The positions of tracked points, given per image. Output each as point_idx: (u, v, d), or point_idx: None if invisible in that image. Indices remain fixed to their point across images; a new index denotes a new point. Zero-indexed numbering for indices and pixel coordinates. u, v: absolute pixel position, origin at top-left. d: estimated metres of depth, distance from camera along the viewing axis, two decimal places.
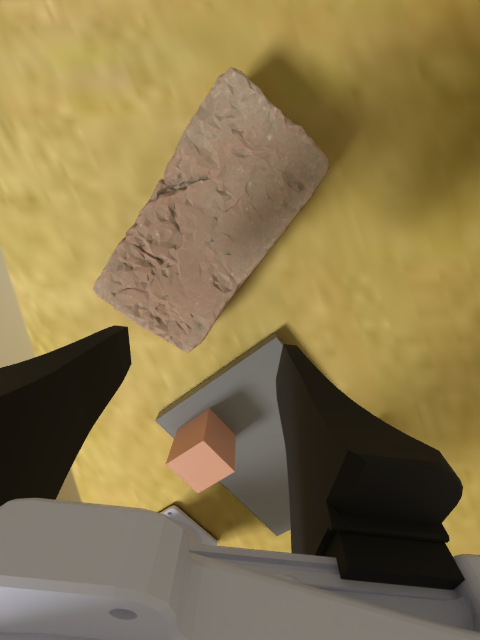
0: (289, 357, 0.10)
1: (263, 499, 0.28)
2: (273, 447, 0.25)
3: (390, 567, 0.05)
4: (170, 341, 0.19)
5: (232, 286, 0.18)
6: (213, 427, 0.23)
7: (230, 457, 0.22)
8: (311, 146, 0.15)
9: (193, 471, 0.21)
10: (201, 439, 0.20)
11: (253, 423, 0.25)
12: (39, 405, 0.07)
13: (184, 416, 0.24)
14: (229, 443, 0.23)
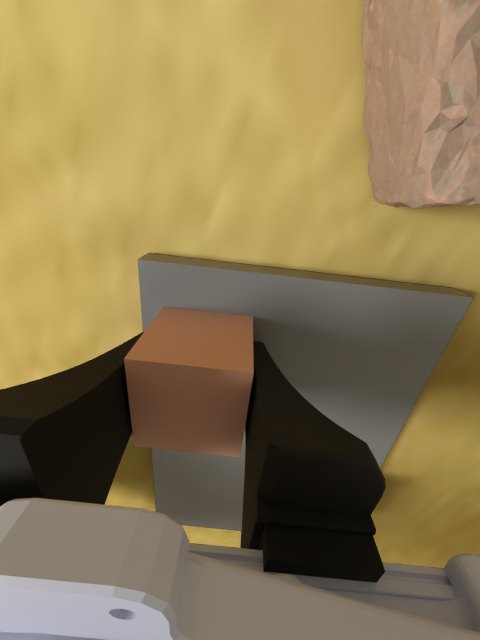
0: None
1: (185, 480, 0.17)
2: None
3: (311, 559, 0.05)
4: (432, 137, 0.06)
5: None
6: None
7: None
8: None
9: (167, 408, 0.09)
10: (246, 367, 0.08)
11: None
12: (96, 412, 0.07)
13: (198, 296, 0.11)
14: None
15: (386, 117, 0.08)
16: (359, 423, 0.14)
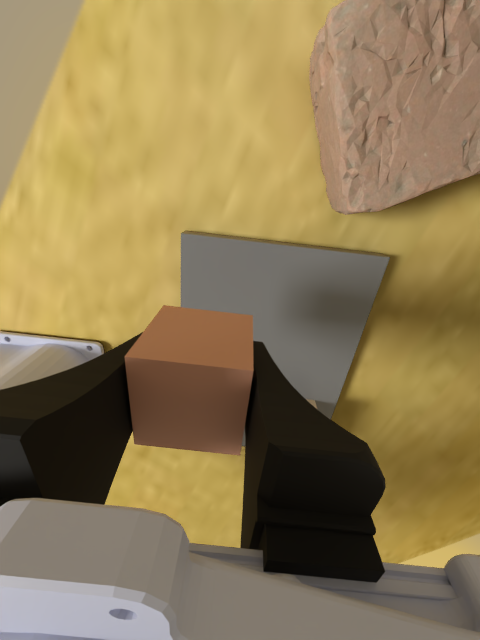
0: None
1: None
2: None
3: (311, 559, 0.05)
4: (346, 181, 0.13)
5: (476, 166, 0.13)
6: None
7: None
8: None
9: (167, 406, 0.09)
10: (246, 366, 0.08)
11: (274, 323, 0.20)
12: (96, 412, 0.07)
13: (217, 257, 0.18)
14: None
15: (328, 167, 0.14)
16: (325, 350, 0.21)
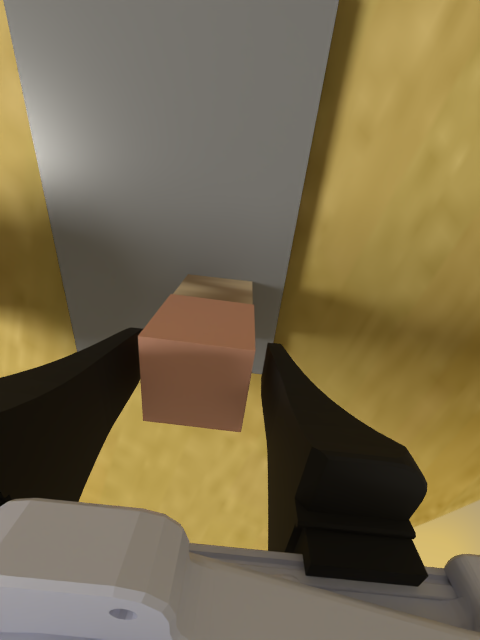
0: (271, 355, 0.10)
1: (96, 286, 0.17)
2: (171, 209, 0.14)
3: (354, 563, 0.05)
4: None
5: None
6: None
7: None
8: None
9: (175, 384, 0.10)
10: (249, 346, 0.09)
11: (174, 133, 0.13)
12: (65, 408, 0.07)
13: None
14: None
15: None
16: (257, 185, 0.14)
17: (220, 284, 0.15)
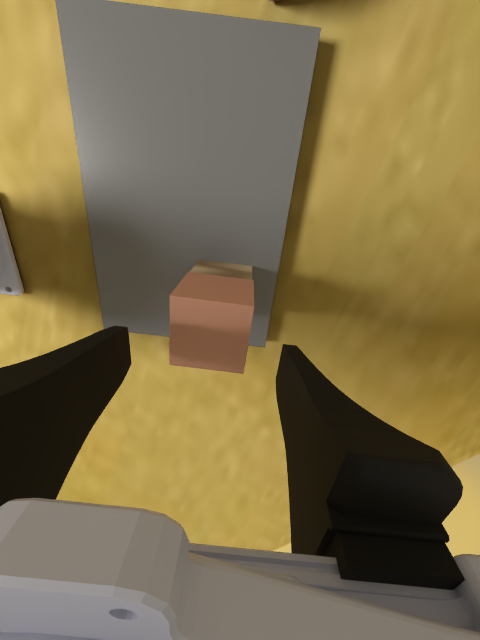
0: (289, 357, 0.10)
1: (122, 270, 0.20)
2: (187, 205, 0.18)
3: (390, 567, 0.05)
4: None
5: None
6: None
7: None
8: None
9: (195, 333, 0.13)
10: (249, 303, 0.12)
11: (190, 145, 0.16)
12: (39, 405, 0.07)
13: (106, 34, 0.14)
14: None
15: None
16: (256, 186, 0.17)
17: (226, 267, 0.18)
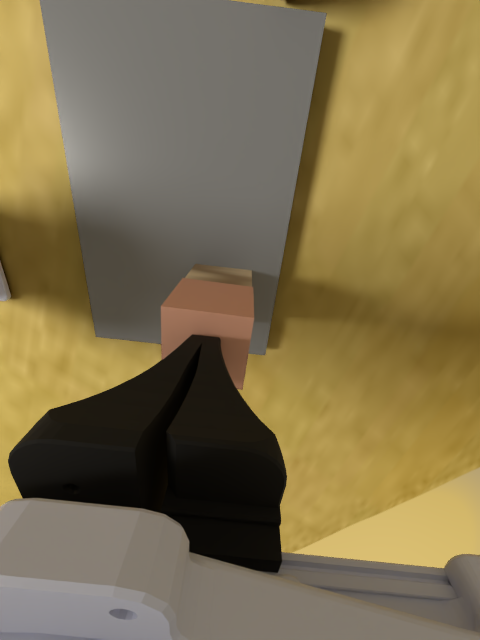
0: (201, 347, 0.10)
1: (114, 274, 0.19)
2: (182, 206, 0.17)
3: (210, 549, 0.05)
4: None
5: None
6: None
7: None
8: None
9: None
10: (249, 315, 0.11)
11: (185, 142, 0.15)
12: (169, 419, 0.07)
13: (92, 20, 0.13)
14: None
15: None
16: (256, 186, 0.16)
17: (224, 272, 0.17)
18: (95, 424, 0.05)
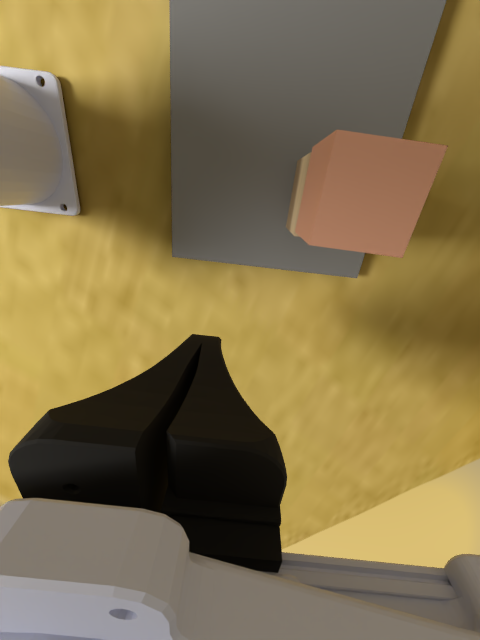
0: (201, 347, 0.10)
1: (203, 176, 0.17)
2: (294, 84, 0.15)
3: (210, 549, 0.05)
4: None
5: None
6: None
7: None
8: None
9: (355, 194, 0.10)
10: (438, 145, 0.09)
11: None
12: (169, 419, 0.07)
13: None
14: None
15: None
16: (383, 55, 0.14)
17: None
18: (95, 424, 0.05)
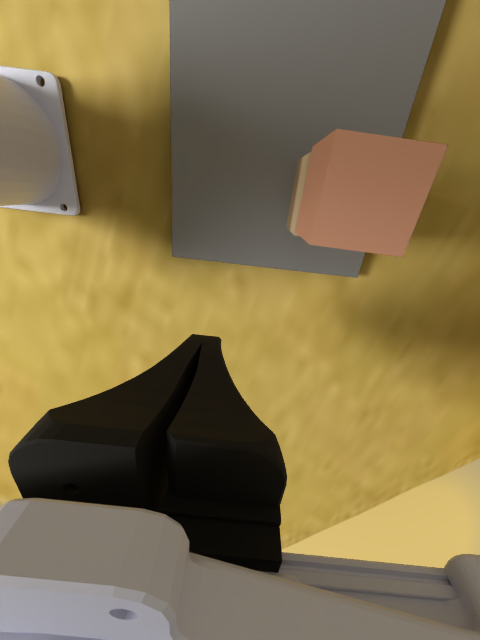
0: (201, 347, 0.10)
1: (203, 176, 0.17)
2: (294, 84, 0.15)
3: (210, 549, 0.05)
4: None
5: None
6: None
7: None
8: None
9: (356, 193, 0.10)
10: (438, 145, 0.09)
11: None
12: (169, 419, 0.07)
13: None
14: None
15: None
16: (383, 55, 0.14)
17: None
18: (95, 425, 0.05)
